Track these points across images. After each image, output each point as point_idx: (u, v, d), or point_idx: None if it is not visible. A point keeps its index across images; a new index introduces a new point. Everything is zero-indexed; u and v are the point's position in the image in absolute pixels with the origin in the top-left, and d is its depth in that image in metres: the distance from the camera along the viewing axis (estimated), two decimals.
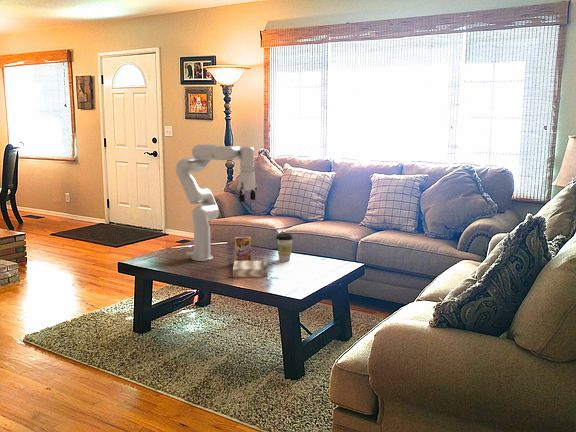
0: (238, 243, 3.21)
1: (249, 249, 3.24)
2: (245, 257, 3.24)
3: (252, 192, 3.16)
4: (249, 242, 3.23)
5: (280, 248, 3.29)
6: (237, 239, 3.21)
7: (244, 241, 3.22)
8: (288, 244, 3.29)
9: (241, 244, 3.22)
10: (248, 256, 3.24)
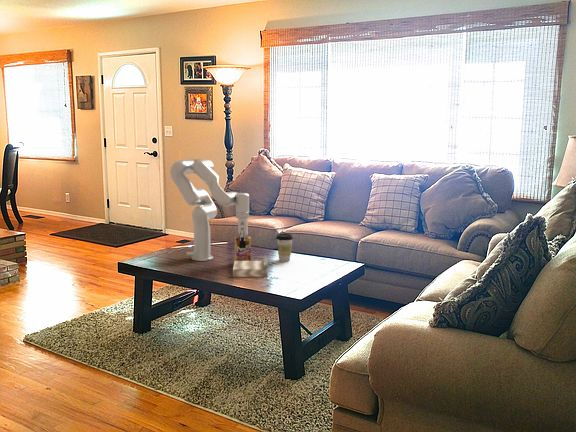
0: (237, 243, 3.21)
1: (249, 249, 3.24)
2: (245, 257, 3.24)
3: None
4: (249, 242, 3.23)
5: (280, 248, 3.29)
6: (237, 239, 3.21)
7: None
8: (288, 244, 3.29)
9: None
10: (248, 256, 3.24)
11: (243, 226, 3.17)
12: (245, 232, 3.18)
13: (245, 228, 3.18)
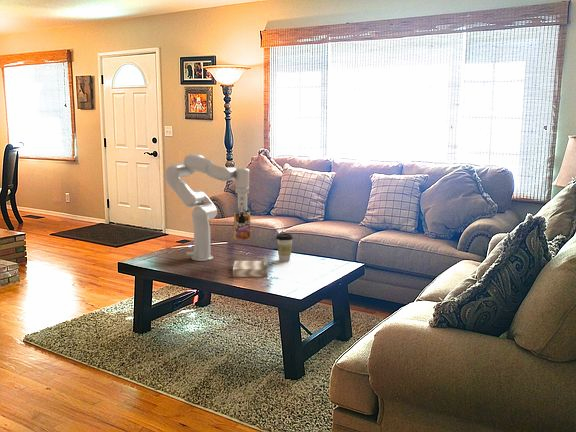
0: (237, 218, 3.19)
1: (248, 225, 3.21)
2: (245, 233, 3.22)
3: None
4: (248, 218, 3.21)
5: (280, 248, 3.29)
6: (236, 214, 3.19)
7: None
8: (288, 244, 3.29)
9: None
10: (247, 232, 3.22)
11: (243, 201, 3.15)
12: (245, 207, 3.16)
13: (245, 203, 3.16)
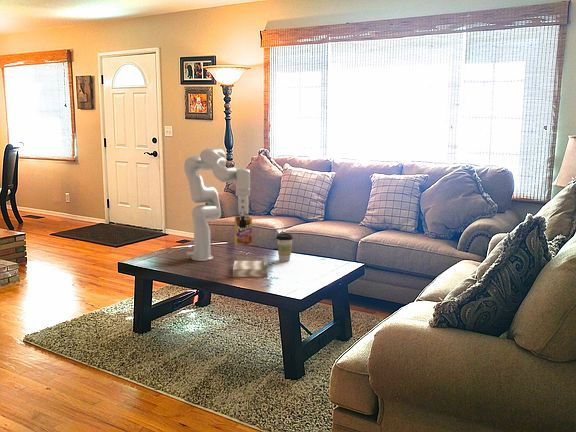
0: (238, 222, 3.00)
1: (250, 229, 3.02)
2: (246, 238, 3.03)
3: None
4: (250, 221, 3.02)
5: (280, 248, 3.29)
6: (237, 218, 3.00)
7: None
8: (288, 244, 3.29)
9: None
10: (249, 236, 3.03)
11: (243, 204, 2.96)
12: (246, 211, 2.97)
13: (246, 206, 2.97)
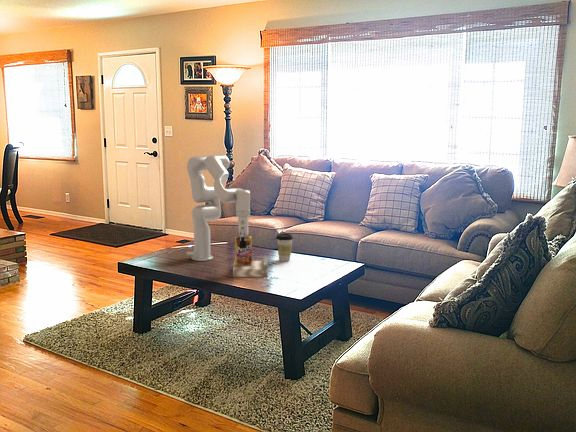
0: (238, 243, 3.02)
1: (250, 249, 3.04)
2: (246, 258, 3.05)
3: None
4: (250, 242, 3.04)
5: (280, 248, 3.29)
6: (237, 239, 3.02)
7: (245, 240, 3.03)
8: (288, 244, 3.29)
9: None
10: (249, 257, 3.05)
11: (243, 225, 2.98)
12: (246, 231, 2.99)
13: (246, 227, 2.98)
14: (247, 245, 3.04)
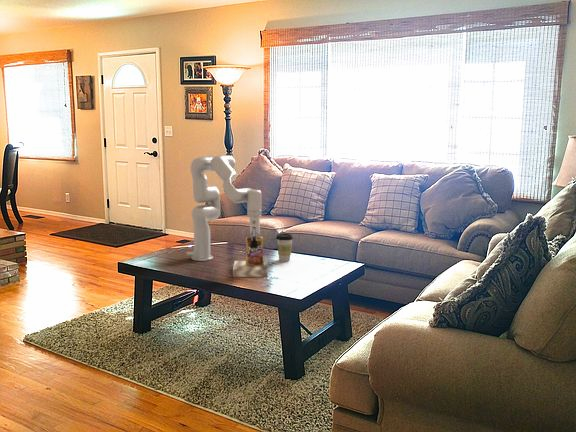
0: (249, 243, 3.02)
1: (261, 250, 3.04)
2: (257, 258, 3.05)
3: None
4: (261, 242, 3.04)
5: (280, 248, 3.29)
6: (248, 239, 3.02)
7: None
8: (288, 244, 3.29)
9: None
10: (260, 257, 3.05)
11: (255, 225, 2.98)
12: (257, 231, 2.99)
13: (257, 227, 2.99)
14: (258, 245, 3.04)
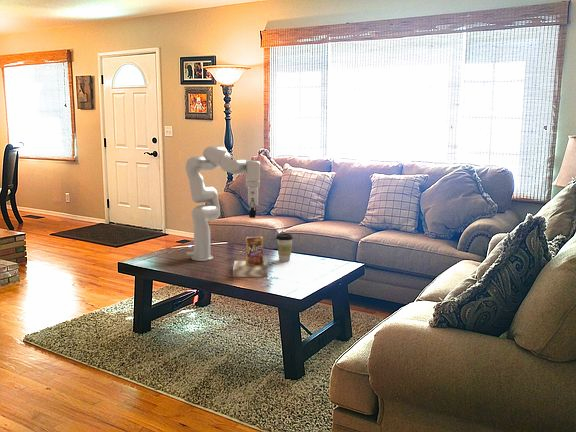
0: (249, 243, 3.02)
1: (261, 250, 3.04)
2: (257, 258, 3.05)
3: None
4: (261, 242, 3.04)
5: (280, 248, 3.29)
6: (248, 239, 3.02)
7: (256, 241, 3.03)
8: (288, 244, 3.29)
9: (253, 245, 3.03)
10: (260, 257, 3.05)
11: (253, 196, 2.98)
12: (255, 202, 2.98)
13: (255, 198, 2.98)
14: (258, 245, 3.04)
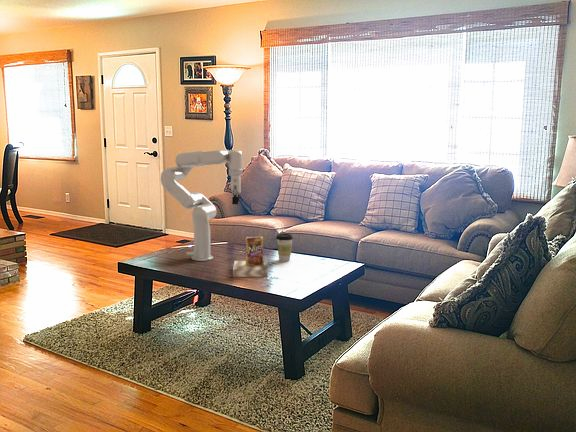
0: (249, 243, 3.02)
1: (261, 250, 3.04)
2: (257, 258, 3.05)
3: None
4: (261, 242, 3.04)
5: (280, 248, 3.29)
6: (248, 239, 3.02)
7: (256, 241, 3.03)
8: (288, 244, 3.29)
9: (253, 245, 3.03)
10: (260, 257, 3.05)
11: (236, 183, 3.16)
12: (238, 189, 3.17)
13: (238, 185, 3.17)
14: (258, 245, 3.04)
